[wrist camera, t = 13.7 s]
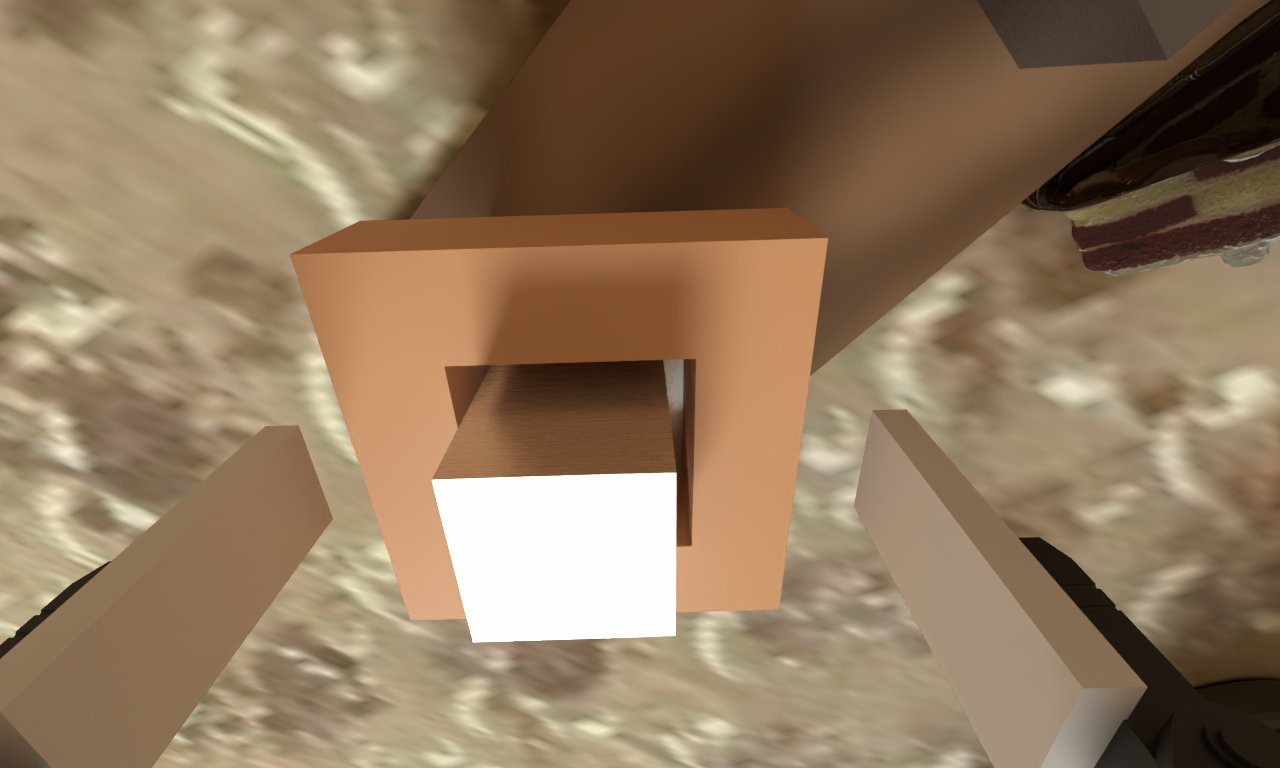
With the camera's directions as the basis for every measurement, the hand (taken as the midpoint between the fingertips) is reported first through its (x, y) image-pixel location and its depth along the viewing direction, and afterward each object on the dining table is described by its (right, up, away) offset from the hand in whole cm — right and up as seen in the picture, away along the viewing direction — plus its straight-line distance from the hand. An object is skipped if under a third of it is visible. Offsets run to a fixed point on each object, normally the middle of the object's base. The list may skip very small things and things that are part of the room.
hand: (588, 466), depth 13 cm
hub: (0, +4, +7) cm, 8 cm away
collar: (0, +1, +2) cm, 3 cm away
